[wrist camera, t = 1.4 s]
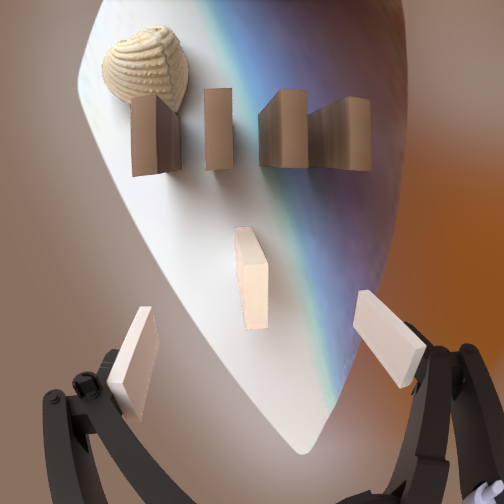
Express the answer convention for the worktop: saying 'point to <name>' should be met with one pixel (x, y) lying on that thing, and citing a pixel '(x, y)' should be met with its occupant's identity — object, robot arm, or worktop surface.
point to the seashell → (147, 67)
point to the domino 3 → (252, 278)
